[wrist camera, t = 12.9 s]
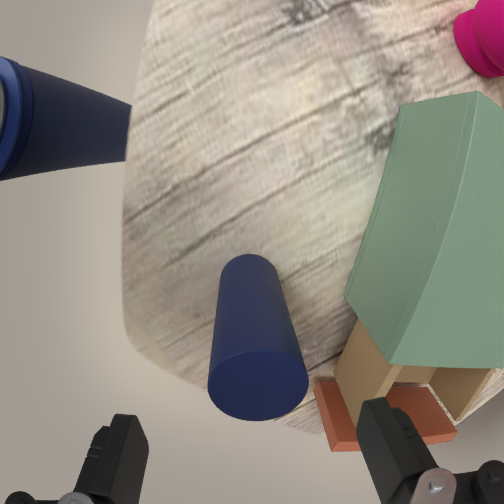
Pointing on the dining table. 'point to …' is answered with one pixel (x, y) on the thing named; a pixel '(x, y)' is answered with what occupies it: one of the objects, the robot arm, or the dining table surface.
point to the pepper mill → (482, 37)
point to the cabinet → (437, 239)
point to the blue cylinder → (254, 345)
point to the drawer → (393, 392)
